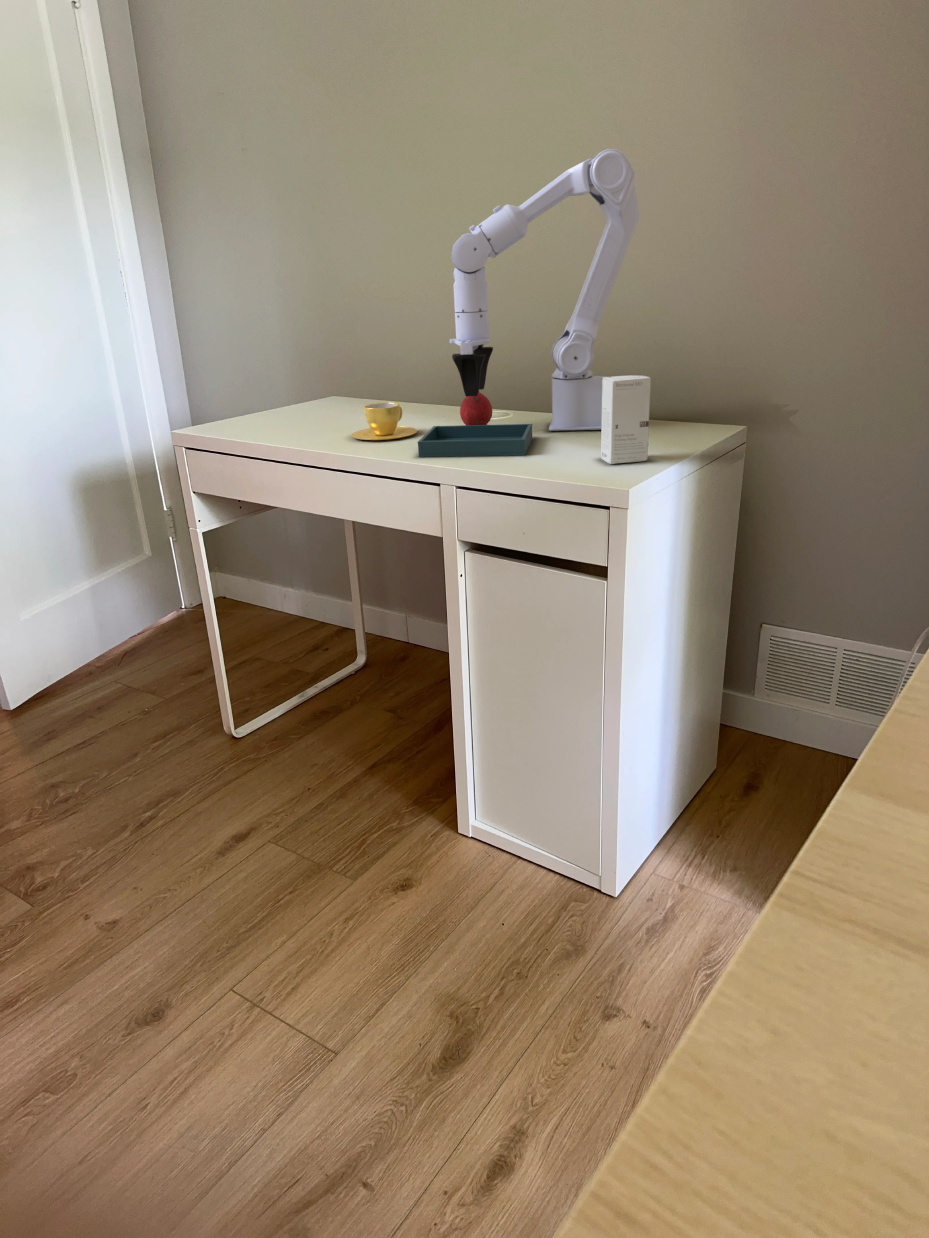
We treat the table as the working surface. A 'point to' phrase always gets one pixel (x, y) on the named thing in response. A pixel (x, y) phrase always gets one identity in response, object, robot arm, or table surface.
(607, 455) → the cosmetic box
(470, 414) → the onion
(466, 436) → the tray
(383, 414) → the cup
